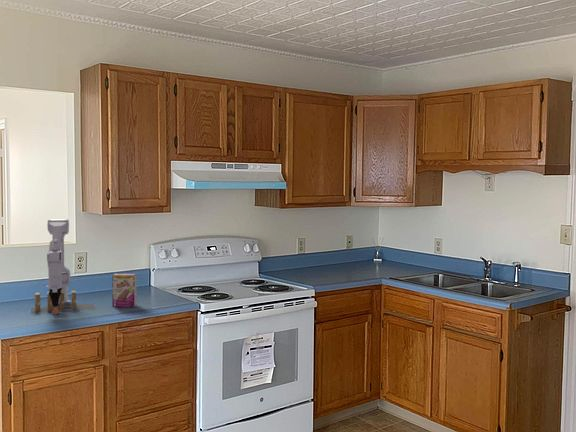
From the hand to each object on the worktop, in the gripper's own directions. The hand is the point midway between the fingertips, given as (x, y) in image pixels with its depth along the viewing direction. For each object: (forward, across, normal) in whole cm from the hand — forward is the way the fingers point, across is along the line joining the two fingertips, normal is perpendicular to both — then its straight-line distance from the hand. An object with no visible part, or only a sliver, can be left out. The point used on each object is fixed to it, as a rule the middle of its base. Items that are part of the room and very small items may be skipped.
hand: (55, 304), depth 278 cm
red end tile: (+4, 0, 0) cm, 4 cm away
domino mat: (+4, -9, +3) cm, 11 cm away
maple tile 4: (+4, -9, +8) cm, 13 cm away
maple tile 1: (+4, -9, -8) cm, 13 cm away
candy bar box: (+5, -6, +32) cm, 33 cm away
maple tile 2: (+4, -9, -3) cm, 10 cm away
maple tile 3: (+4, -9, +3) cm, 10 cm away
